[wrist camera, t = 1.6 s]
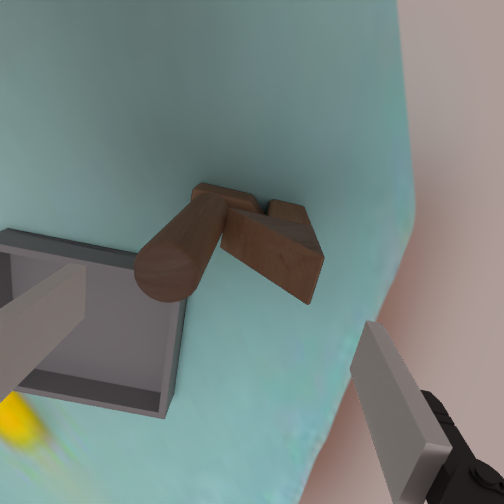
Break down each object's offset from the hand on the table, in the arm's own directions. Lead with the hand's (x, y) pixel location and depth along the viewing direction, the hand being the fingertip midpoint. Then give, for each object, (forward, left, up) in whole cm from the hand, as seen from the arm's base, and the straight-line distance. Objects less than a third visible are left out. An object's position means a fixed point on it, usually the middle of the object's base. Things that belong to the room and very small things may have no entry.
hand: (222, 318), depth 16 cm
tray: (+16, -15, -20) cm, 30 cm away
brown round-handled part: (0, 0, -21) cm, 21 cm away
